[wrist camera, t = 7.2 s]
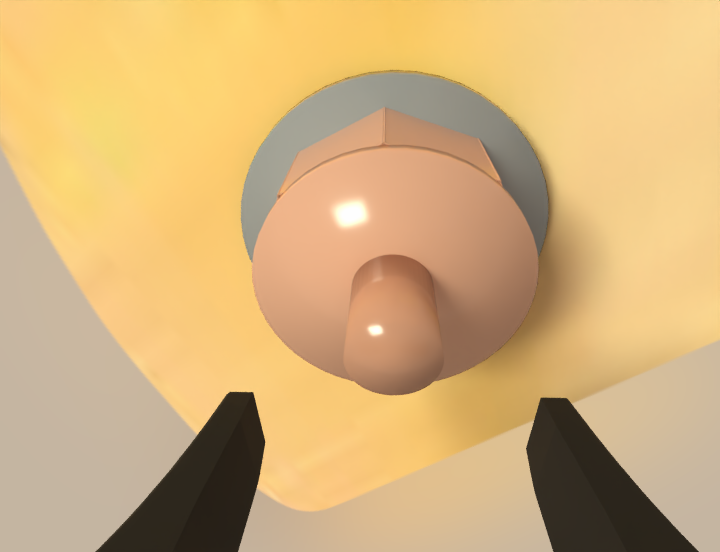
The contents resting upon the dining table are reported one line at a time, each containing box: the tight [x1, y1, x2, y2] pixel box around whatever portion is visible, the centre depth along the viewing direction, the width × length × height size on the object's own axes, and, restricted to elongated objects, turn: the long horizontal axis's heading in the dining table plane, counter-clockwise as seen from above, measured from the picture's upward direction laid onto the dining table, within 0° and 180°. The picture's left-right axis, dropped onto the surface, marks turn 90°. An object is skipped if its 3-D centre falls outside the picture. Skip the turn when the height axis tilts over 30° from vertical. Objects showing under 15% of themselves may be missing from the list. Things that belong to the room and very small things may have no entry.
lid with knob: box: [252, 107, 539, 395], centre depth 16 cm, size 10×10×8 cm
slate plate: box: [241, 70, 548, 262], centre depth 20 cm, size 13×13×1 cm
